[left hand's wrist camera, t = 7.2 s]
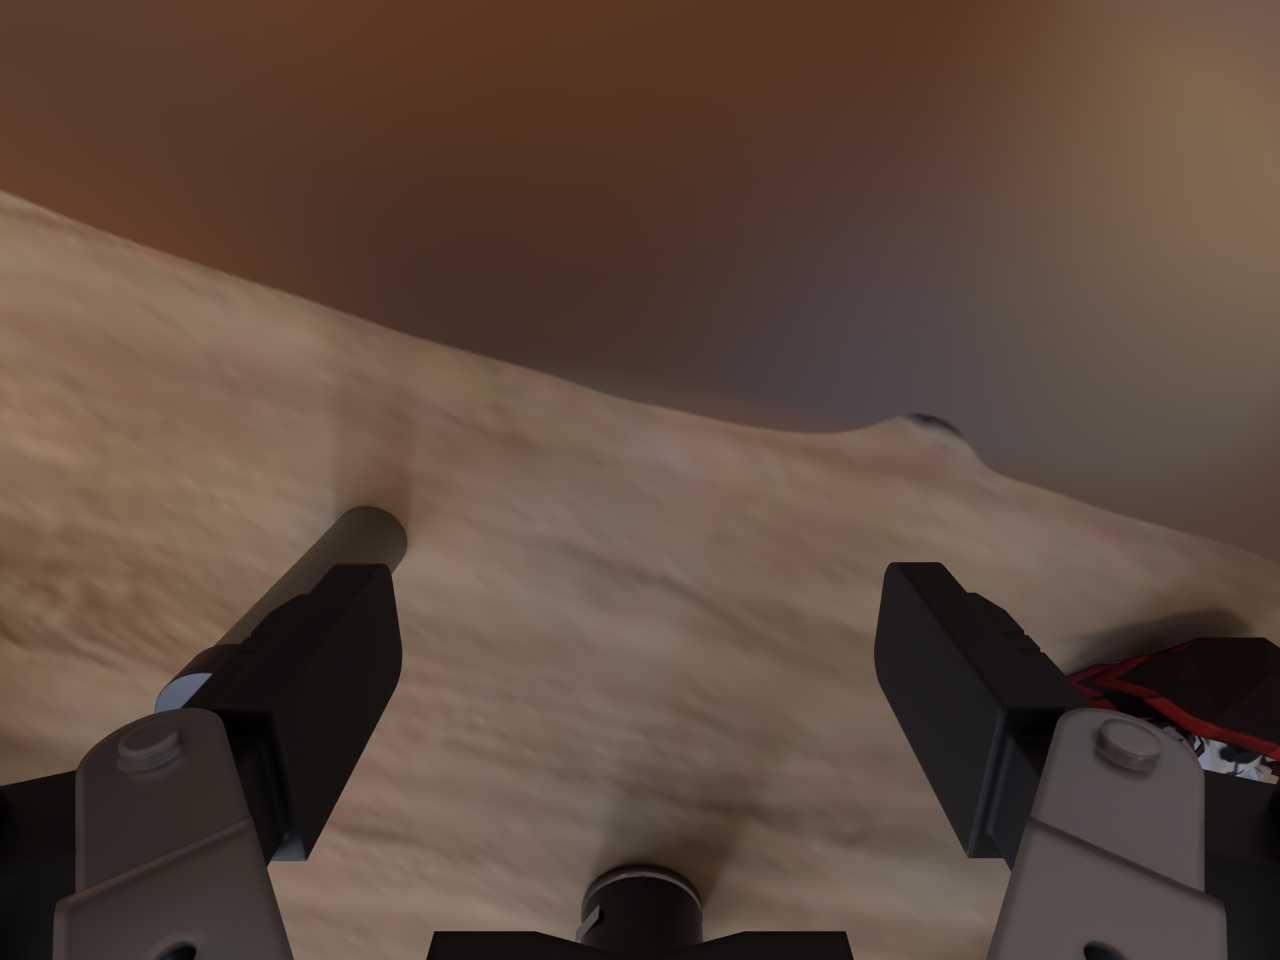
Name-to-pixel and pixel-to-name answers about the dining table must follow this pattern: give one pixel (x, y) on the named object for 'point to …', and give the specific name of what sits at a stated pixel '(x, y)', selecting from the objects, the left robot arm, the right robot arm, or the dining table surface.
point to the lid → (192, 677)
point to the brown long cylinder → (330, 561)
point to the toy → (1202, 699)
